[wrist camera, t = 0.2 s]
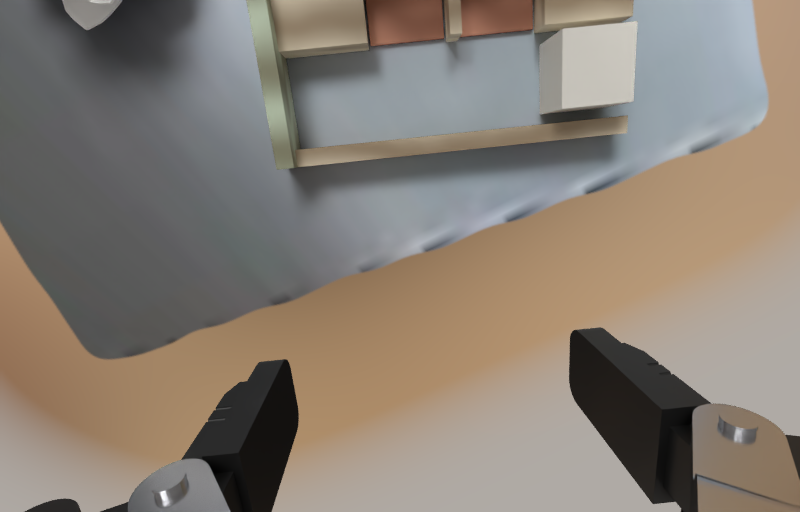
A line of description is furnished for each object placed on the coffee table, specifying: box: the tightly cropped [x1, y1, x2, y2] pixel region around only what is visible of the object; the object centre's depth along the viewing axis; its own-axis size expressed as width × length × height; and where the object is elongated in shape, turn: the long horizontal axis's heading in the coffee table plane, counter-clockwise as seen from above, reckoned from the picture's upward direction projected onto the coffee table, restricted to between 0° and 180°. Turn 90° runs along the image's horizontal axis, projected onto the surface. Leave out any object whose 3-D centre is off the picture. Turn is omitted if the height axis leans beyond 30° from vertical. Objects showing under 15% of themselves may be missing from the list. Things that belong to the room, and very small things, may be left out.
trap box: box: [246, 0, 633, 170], centre depth 34 cm, size 16×32×4 cm, turn 96°
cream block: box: [539, 21, 638, 114], centre depth 34 cm, size 6×6×5 cm
